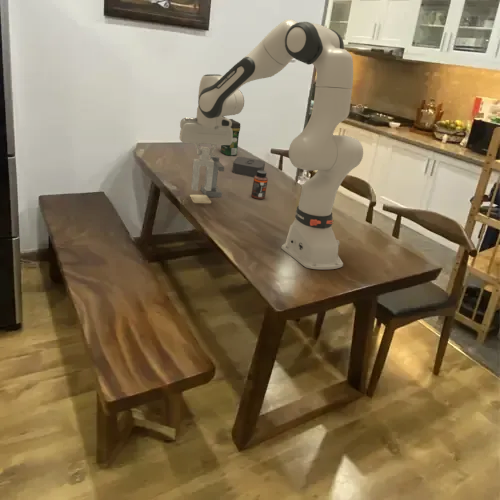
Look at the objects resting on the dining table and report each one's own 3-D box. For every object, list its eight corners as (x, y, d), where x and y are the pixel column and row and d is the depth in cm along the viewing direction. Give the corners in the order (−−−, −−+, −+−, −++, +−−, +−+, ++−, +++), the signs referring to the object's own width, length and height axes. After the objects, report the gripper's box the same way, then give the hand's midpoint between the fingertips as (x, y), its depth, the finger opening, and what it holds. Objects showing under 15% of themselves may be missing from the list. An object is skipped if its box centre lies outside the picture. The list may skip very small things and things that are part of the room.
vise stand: (226, 203, 197) (231, 164, 190) (209, 202, 194) (213, 164, 188) (216, 190, 209) (220, 154, 203) (200, 190, 207) (204, 153, 200)
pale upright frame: (211, 190, 195) (215, 149, 187) (192, 190, 192) (196, 148, 185) (209, 188, 197) (213, 146, 190) (191, 187, 195) (195, 145, 187)
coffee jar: (218, 151, 270) (221, 117, 262) (230, 151, 274) (234, 117, 266) (226, 156, 263) (230, 121, 255) (239, 156, 267) (243, 122, 259)
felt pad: (211, 203, 194) (211, 201, 194) (193, 203, 192) (194, 201, 192) (206, 196, 201) (206, 194, 201) (189, 196, 198) (189, 194, 198)
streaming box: (260, 178, 235) (261, 168, 233) (230, 173, 236) (232, 163, 234) (264, 171, 248) (265, 161, 246) (236, 166, 249) (238, 156, 247)
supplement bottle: (263, 200, 206) (267, 174, 201) (249, 197, 207) (253, 172, 202) (266, 196, 211) (270, 171, 206) (252, 193, 212) (256, 168, 207)
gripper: (182, 118, 176) (179, 156, 182) (236, 122, 184) (231, 158, 189) (179, 115, 182) (176, 151, 188) (231, 118, 189) (227, 153, 195)
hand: (204, 154), depth 189 cm, fingers closed on pale upright frame, 3 cm apart
